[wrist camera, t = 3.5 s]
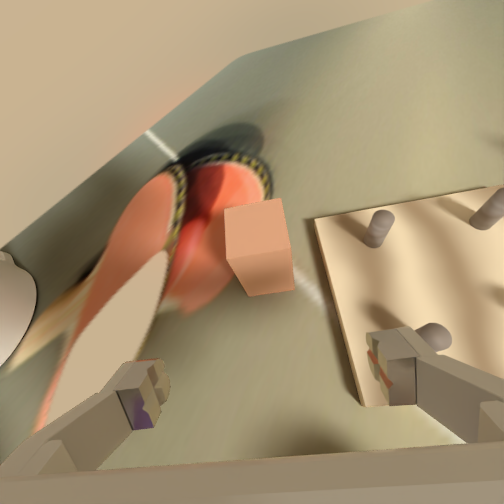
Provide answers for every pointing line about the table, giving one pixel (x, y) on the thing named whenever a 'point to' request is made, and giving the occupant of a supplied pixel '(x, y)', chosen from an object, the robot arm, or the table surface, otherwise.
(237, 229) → the terracotta block
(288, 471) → the robot arm
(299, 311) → the table surface
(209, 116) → the table surface
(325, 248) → the birch peg plate
